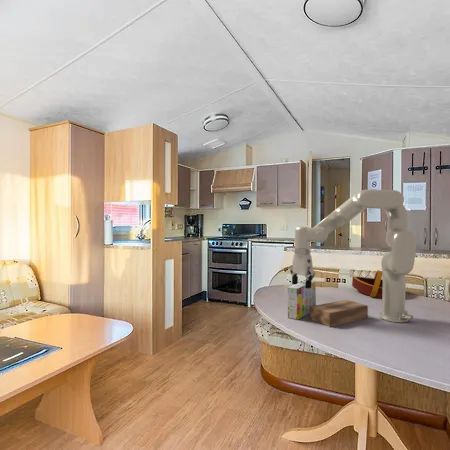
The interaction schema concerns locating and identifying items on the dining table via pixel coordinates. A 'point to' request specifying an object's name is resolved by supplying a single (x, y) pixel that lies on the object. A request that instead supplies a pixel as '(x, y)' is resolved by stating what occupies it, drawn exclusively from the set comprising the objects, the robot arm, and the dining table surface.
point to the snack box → (300, 299)
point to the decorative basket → (369, 285)
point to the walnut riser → (338, 312)
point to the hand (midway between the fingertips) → (301, 286)
